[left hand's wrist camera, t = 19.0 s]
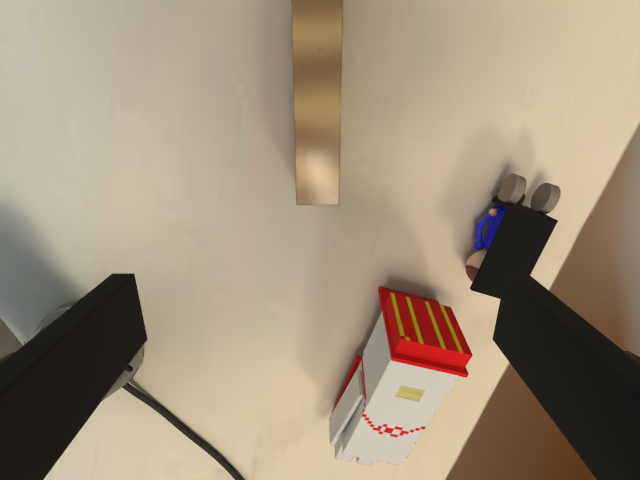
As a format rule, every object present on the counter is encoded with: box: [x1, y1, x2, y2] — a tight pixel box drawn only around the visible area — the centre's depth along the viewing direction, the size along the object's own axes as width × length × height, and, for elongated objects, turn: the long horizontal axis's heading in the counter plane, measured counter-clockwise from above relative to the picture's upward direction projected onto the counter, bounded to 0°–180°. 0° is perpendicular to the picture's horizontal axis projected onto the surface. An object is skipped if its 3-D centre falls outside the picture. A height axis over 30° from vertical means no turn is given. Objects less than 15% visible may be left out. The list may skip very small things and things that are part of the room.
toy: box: [329, 287, 473, 466], centre depth 52 cm, size 12×13×30 cm
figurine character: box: [466, 174, 560, 299], centre depth 46 cm, size 7×8×15 cm
